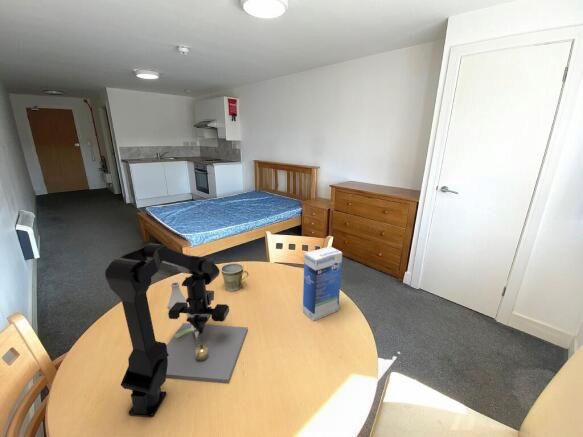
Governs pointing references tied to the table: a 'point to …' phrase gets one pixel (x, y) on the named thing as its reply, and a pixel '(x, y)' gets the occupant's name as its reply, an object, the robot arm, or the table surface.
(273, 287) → the table surface
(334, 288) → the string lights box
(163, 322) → the table surface
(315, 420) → the table surface
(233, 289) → the ceramic cup
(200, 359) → the lever
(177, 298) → the flask
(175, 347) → the dial board
